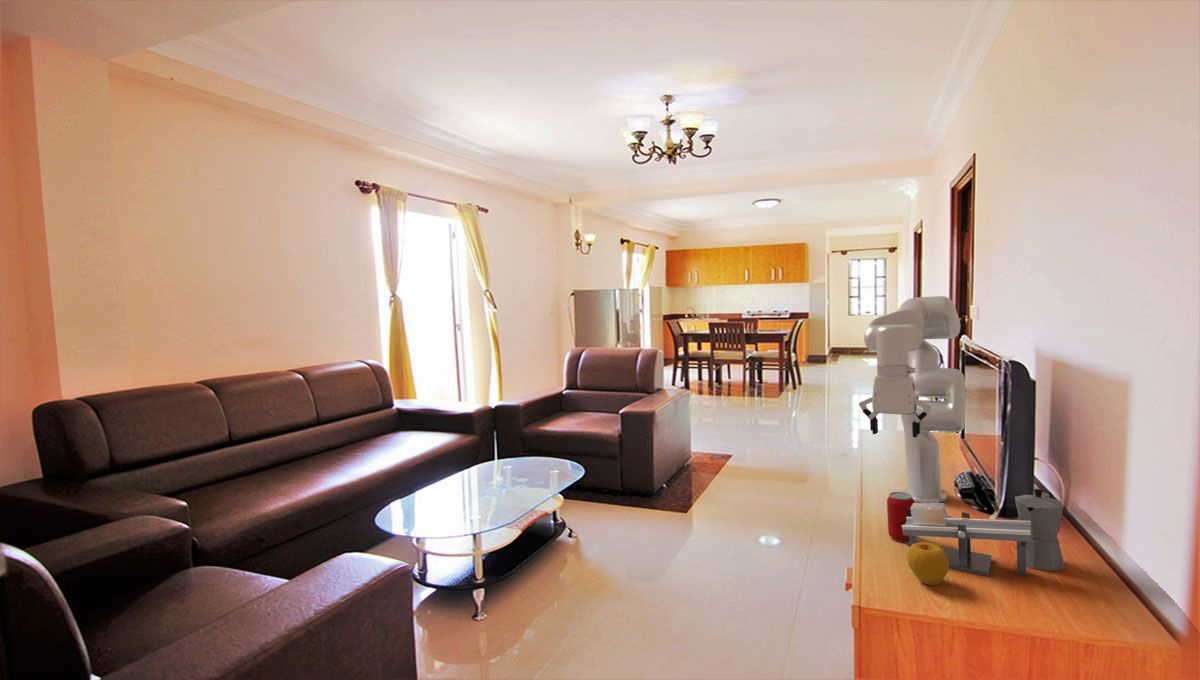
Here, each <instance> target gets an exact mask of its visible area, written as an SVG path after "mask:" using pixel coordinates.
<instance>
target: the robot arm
mask: <svg viewBox="0 0 1200 680" xmlns="http://www.w3.org/2000/svg"><path fill="white" fill-rule="evenodd" d="M866 327H867V328H866V329H865V332H864V335H863V336H864V337H863V340H864V344H865V345H864V346H865V347H866V348H867V349H868V350H869V351H872V352H876V372H877V375H876V376H874V380H873V386H872V387H873V388H872V396H871V397H869V398H867V399H864V400H863V401H860V402H858V406H859V407H860V410H862V413H863V415H865V416H866V417H867V418H868V419H869V425H870V428H869V429H870V431H871V432H872V435H876V434H878V432H879V424H878V423H879V422H878V421H879V420H878V418H877V416H878V415H879V414H885V415H886V414H887V415H900V417H901V418H900V419H901V421H902V422H901V423H902V426H903V433H904V446H905V448H904V449H905V450H904V451H905V469H906V474H905V475H906V488H903V489H902V490H901V492H904V493H908V494H910V495H911V496H912V498H913V500H914V501H915V503H927V502H929V503H937V501H938V500H939V498H940V502H939V503H943V502H946V501H947V500H948V495H947V493H945V492H944V491H942V485H941V459H940V458H941V455H940V444H939V441H938V439H937V438H936V437H935V435H933V433H932V432H942V433H943V432H945V433H961V431H963V430H964V428H965V425H966V395H967V393H966V391H967V390H966V389H967V388H966V379H965V376H964V374H963V372H962V371H961V370H960V369H957V368H949V367H948V368H947V367H944V368H943V367H939V353H938V351H937V350H936V349H935V348H934V347H933V346H932V344H930V343H929V342H928V341H927V340H949V339H950V340H951V339H954V338H957V337H958V336H959V334H960V332H961V320H960V318H959V314H958V311H957V309H956V306H955V304H954V303H953V301H952V299H950V298H949V297H948V296H945V295H939V296H933V295H932V296H920V297H912V298H908V299H906V300H905V301H903V303H902V304H901V305H900V306H899V307H898V309H897V311H894V312H890V313H888V314H884V315H882V316H879V317H877V318H874V319H873V320H872V321H871V322H870V323H869V324H868V326H866ZM917 397H918V398H919V397H921V398H937V399H939V398H940V399H946V400H948V401H946V400H945V401H944V400H930V399H929V400H927V399H926V400H923V399H918V398H917ZM871 403H872V405H871V406H872V411H871V410H870V409H869V408H868V407H867V405H869V404H871Z"/></svg>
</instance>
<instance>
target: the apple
mask: <svg viewBox="0 0 1200 680" xmlns="http://www.w3.org/2000/svg"><path fill="white" fill-rule="evenodd" d="M906 560H907V563H908V566H909V568H910V571H912V573H913V574H914V576H915V577H916V578H917V579H918V581H920V582H921V583H923V584H927V585H930V586H938V585H939V584H940V583H942V582H943V580H944V578H946V576H947V574H948V572H949V569H950V568H949V560H948V557H947V555H946V553H945V552H944V550H943V548H942V547H940V546H938V545H936V544H934V543H931V542H927V541H918V543H915V544H913V545H912V546H911V547H910V548H909V547H908V549H907V552H906Z"/></svg>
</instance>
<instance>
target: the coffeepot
mask: <svg viewBox="0 0 1200 680" xmlns="http://www.w3.org/2000/svg"><path fill="white" fill-rule="evenodd" d="M1033 490H1034V491H1033V492H1034V495H1033V494H1023V495H1018V496H1017V495H1016V496H1014V500H1015V506H1016V510H1017V516H1018V520H1020V521H1031V526H1032V530H1033V532H1032V542H1026V567H1027V568H1030V569H1034V570H1038V571H1039V570H1040V571H1046V572H1058V571H1062V570H1063V569H1065V567H1066V565H1065V563H1064V559H1063V558H1064V557H1063V554H1062V550H1061V545H1060V541H1059V538H1058V533H1060V530H1061V524H1062V519H1063V513H1064V512H1063V511H1064V505H1063V503H1062V501H1061V500H1058V499H1055V498H1054V496H1053V495H1052V492H1051V491H1048V490H1047V491H1044V492H1043V489H1041V488H1034V489H1033ZM1023 542H1025V541H1023Z"/></svg>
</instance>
